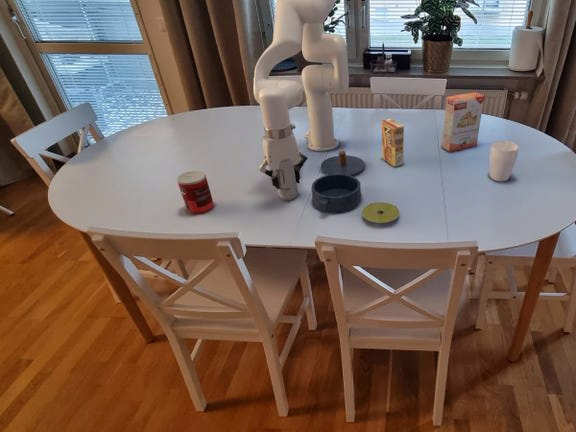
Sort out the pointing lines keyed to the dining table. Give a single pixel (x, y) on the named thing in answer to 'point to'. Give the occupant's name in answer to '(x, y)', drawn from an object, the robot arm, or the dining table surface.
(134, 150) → the dining table surface
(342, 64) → the robot arm
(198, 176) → the canned food
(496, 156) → the cup
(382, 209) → the olive green disc
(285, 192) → the energy drink can
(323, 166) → the pan lid
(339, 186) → the pan
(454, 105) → the cracker box
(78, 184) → the dining table surface
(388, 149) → the candy box
